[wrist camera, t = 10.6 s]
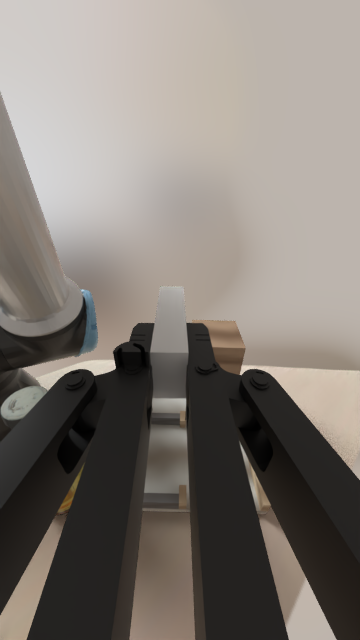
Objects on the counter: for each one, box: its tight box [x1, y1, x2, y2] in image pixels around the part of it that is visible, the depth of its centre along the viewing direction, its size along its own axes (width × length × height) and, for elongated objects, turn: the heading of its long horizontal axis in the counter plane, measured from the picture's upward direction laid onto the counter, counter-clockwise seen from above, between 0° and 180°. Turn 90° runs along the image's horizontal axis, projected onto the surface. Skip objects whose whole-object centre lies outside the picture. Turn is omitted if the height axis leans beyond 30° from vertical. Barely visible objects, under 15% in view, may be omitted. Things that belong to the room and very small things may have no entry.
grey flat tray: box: [142, 398, 271, 514], centre depth 39 cm, size 25×21×3 cm
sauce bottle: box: [0, 386, 85, 515], centre depth 26 cm, size 7×6×20 cm
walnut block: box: [192, 320, 245, 375], centre depth 40 cm, size 8×8×16 cm
